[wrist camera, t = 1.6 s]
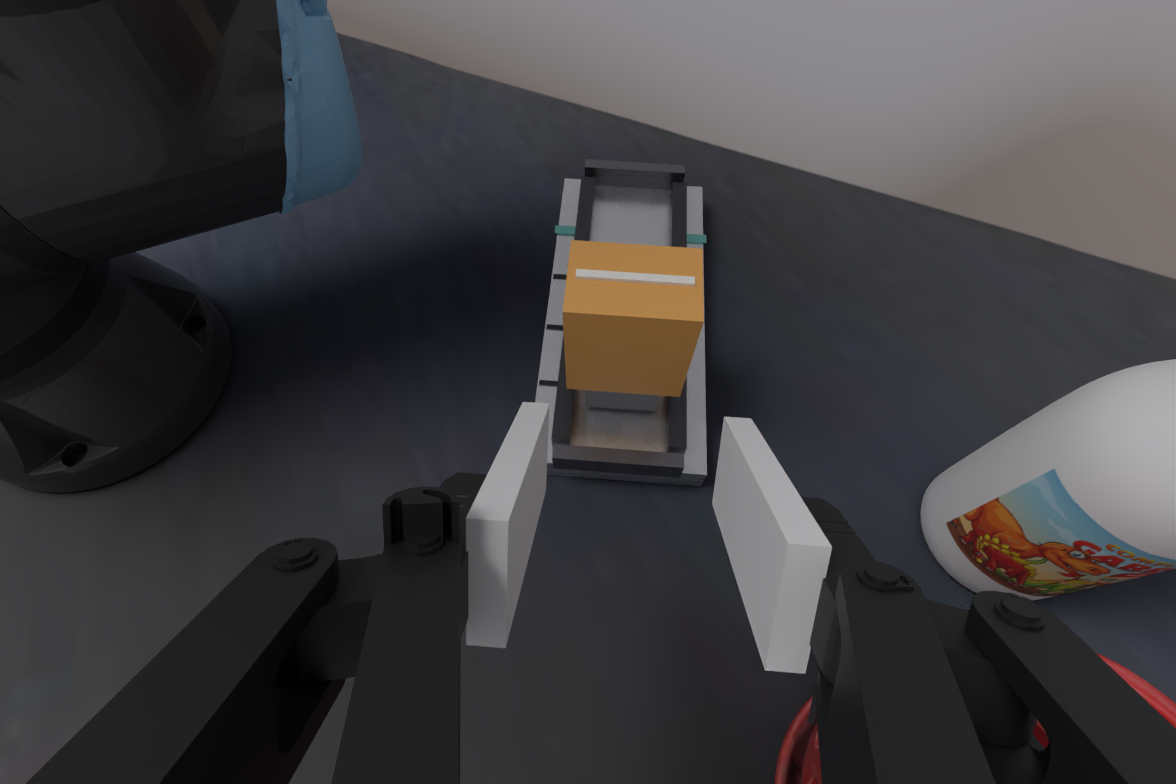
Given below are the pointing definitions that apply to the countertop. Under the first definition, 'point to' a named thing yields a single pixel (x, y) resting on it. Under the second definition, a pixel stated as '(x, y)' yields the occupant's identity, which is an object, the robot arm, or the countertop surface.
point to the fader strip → (576, 433)
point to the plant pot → (801, 744)
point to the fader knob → (631, 321)
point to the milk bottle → (1065, 493)
